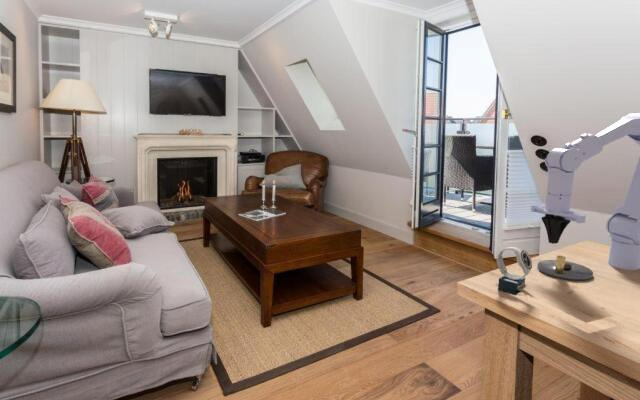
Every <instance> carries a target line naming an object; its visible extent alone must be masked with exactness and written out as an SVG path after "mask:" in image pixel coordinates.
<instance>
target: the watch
mask: <svg viewBox="0 0 640 400" xmlns="http://www.w3.org/2000/svg"><path fill="white" fill-rule="evenodd" d="M507 250H508V251H514V254H515V255H516V256H515V257H516V261H517V264H518V266H519V267H520V269H521V270H522V271H523V273H524V274H523V275H522V276H521V275H517V274H514V273H511V272H510V273H509V272H508V268H507V267H506V265H505V263H504V259H503V253H504V252H505V251H507ZM496 264H497V267H498V269H499V271H500V273H501V275H502V276H500V277H499V278H498V285H497V286H498V287H497V291H500V292H503V293H507V294H509V295H513V296H517V295H519V294H520V293H521V292H522V291H521V290H519V288H521V287H522V286H523V285H525V282H526V277H527V276H528V275H529V274H530V272H531V270H532V269H533V261H532V258H531V256H530V254H529V253H528V251H526V250H524V249H522V248H520V247H518V246H507V247H506V248H503V249H502V250H500V251H499V252H498V253H497V258H496Z"/></svg>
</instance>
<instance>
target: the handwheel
mask: <svg viewBox="0 0 640 400" xmlns="http://www.w3.org/2000/svg"><path fill="white" fill-rule="evenodd" d="M536 268H537V270H538V272H540V273H542V274H544V275H546V276H548V277H552V278H556V279H558V280H559V279H560V280H564V281H565V280H566V281H572V282H573V281H575V282H583V281H590V280H592V279H593V277H594V271H593V270H592V269H590V268H589V267H587V266H585V265H582V264H580V263H576V262H571V261H567V260H566V256H564V255H556V259H543V260H541V261H539V262H538V263H537V267H536Z"/></svg>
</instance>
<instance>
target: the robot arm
mask: <svg viewBox="0 0 640 400" xmlns="http://www.w3.org/2000/svg"><path fill="white" fill-rule="evenodd" d="M626 136H627V137H628V138H629V139H631V140H632V141H634V142H635V143H636V144H637V145H638V146H639V147H640V112H630V113H628V114H627V115H624V116H621V117H620V119H619V120H618V121H617V122H615V123H613V124H612V125H609V126H608V127H607V128H605V129H603V130H602V131H600V132H598V133H597V134H594V133H583V134H581V135H580V136H579V137H580V138H578V139H576V140H574V141H572V142H567V143H565V144H564V146H563V147H562V148H559V147H556V148H553V149H552V150H550V152H548V154H547V155H546V157H545V158H544V164H545V166H546V168H547V174H548V176H547V177H548V180H547V187H546V196H545V205H541V204H531V206H530V212H531V213H538V214H543V215H544V216H542V217H541V221H542V223H543V225H544V228H545V230H546V234H547V240H548V244H549V243H550V244H553V245H554V244H558V243H559V241H560V239H561V237H562V235H563V232H564V230H565V229H566V228H567V226H568V225H569V224H571V222H575V223H576V224H584V223H586V214H581V213H579V212H576V211H573V210H571V202H572V201H571V200H572V194H573V192H572V191H573V184H574V178H575V176H574V175H575V171H578V169H579V168H580V167H581V165H582V163H584V162H585V161H587V160H589V159H591V158H592V157H595V156H597V155H598V154H600V153H601V152H602V151H603V148H604V146H607V145H608V144H610V143H613V142H615V141H617V140H620V139H622V138H624V137H626ZM605 227H606V231H607V233H609V238H611V241H610V247H609V254H608V260H607V264H608V265H609V266H611V267H613V268H615V269H619V270H625V271H626V270H627V271H638V270H640V156H639V157H638V160H637V164H636V167H635V169H634V173H633V175H632V179H631V182H630V184H629V188H628V191H627V192H626V196H625V199H624V202H623V204H622V205H620V206H617V207H615V208H614V209H613V212H612V214H611V215H610V217H609V218H608V219H607V220H606V225H605Z"/></svg>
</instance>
